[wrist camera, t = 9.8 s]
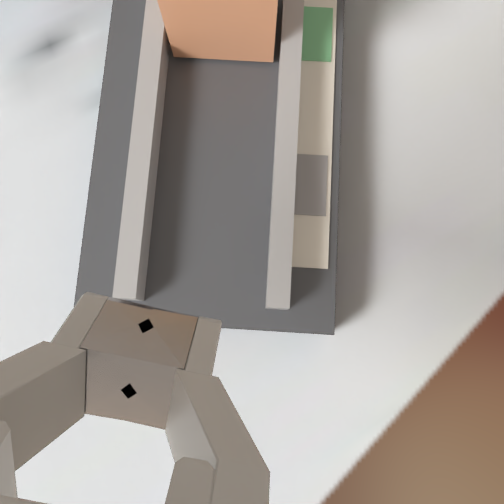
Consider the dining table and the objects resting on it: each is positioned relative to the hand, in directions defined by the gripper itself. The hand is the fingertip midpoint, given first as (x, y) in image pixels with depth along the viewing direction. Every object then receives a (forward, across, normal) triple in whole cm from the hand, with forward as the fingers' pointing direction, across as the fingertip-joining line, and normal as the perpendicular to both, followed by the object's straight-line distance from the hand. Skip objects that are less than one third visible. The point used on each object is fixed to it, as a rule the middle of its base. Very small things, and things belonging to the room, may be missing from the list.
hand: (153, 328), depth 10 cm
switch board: (+17, 0, 0) cm, 17 cm away
